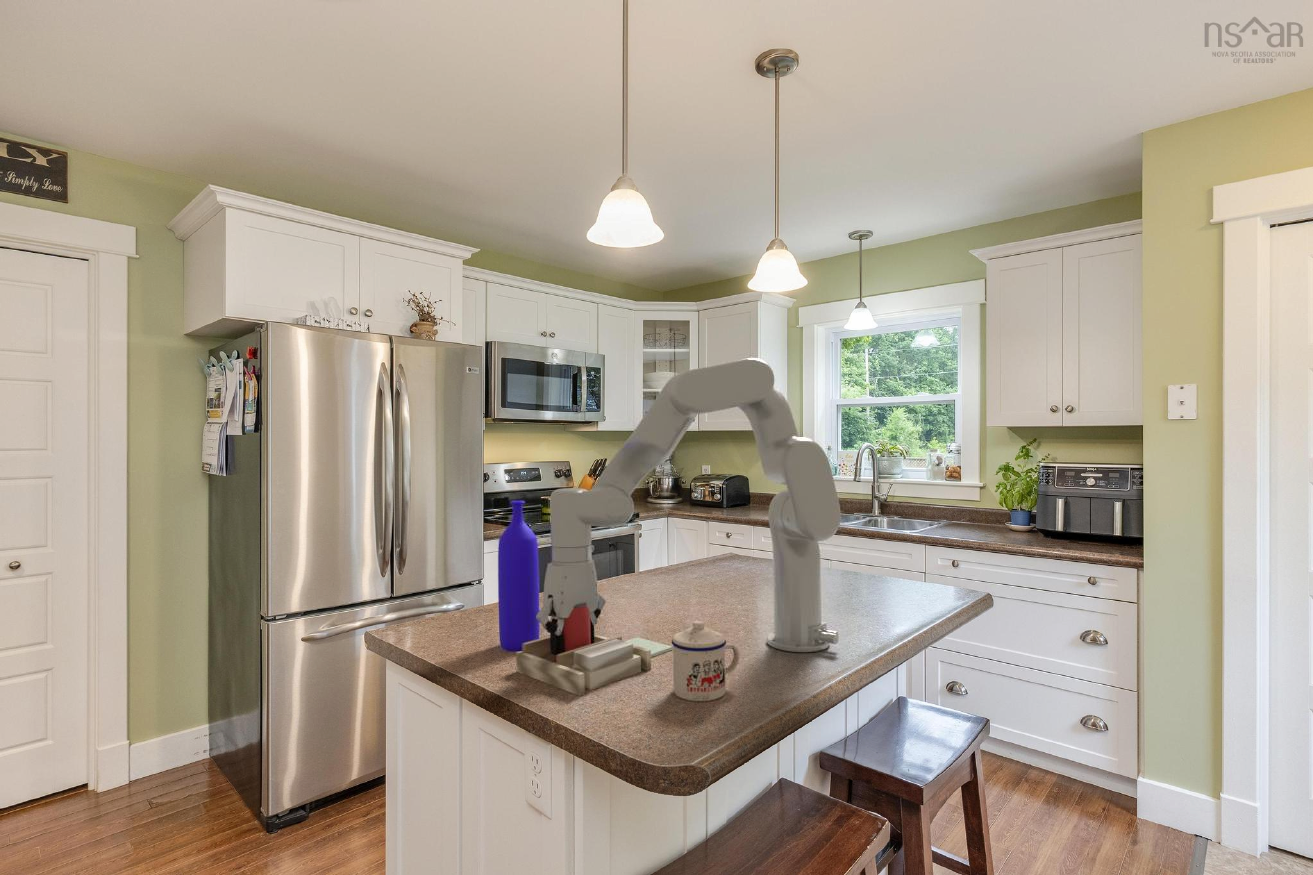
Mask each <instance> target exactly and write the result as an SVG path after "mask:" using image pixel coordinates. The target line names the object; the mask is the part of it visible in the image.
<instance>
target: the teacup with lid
mask: <svg viewBox="0 0 1313 875" xmlns="http://www.w3.org/2000/svg"><path fill="white" fill-rule="evenodd" d="M671 644H672V647H673V650H672V654H673V656H672V657H673V659H672V660H673V662H672V663H673V692H674V694H675V695H676V696H677V697H678V698H681V699H683V700H687V701H691V702H692V701H693V702H708V701H709V702H710V701H713V700H718V699H719V698H722V697H723V696H724V695H725V694H726V687H727V686H726V685H727V684H726V675H728V674H730V673H732V672H733V671H735V669H736V668H737V666H738V664H739V662H740V661H739V660H740V651H739V648H738V647H737V646H735V644H732V643H730V642H729V643H727V640H726V637H725V635H724V634H722V633H720V632H718V631H716V630H712V629H711V628H709V627H706V626H705V622H704V621H702V620H695V621H693V622H692V626H690V627H688V628H686V629H685V630H683V631H679V632H677V633H675V634H674V635H673V636H672V638H671ZM727 649H731V650H732V651H733V658H732V661H731V663H730V664H729V665H728V667H726V650H727Z"/></svg>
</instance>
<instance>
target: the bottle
mask: <svg viewBox="0 0 1313 875" xmlns="http://www.w3.org/2000/svg"><path fill="white" fill-rule="evenodd" d="M525 503H526V502H525V500H511V501H510V502H509V504H510V505H511V506H512V519H511V522H510V523H509V524H508V526H506V528H505V530H504V531H503V532H502V534H501V535H500V537H499V539H498V548H497V549H498V550H497V554H498V555H497V588H498V589H497V590H498V591H497V593H498V594H497V598H498V600H497V601H498V630H499V632H498V634H499V644H500V648H501V650H504V651H507V652H520V651H522V643H526V642H530V641H533V640H537V639H540V622H539V621H538V620H537V619H536V616H537V614H538V613H539V611H540V571H539V570H540V566H539V565H540V564H539V547H538V546H539V545H538V539H537V536H536V535H535V533H534V532H533V530H532V529H531V528H530V526H528V525H527V523H526V522H525V521H524V516H523V507H524V505H525Z"/></svg>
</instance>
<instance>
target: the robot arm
mask: <svg viewBox="0 0 1313 875" xmlns="http://www.w3.org/2000/svg"><path fill="white" fill-rule="evenodd" d="M733 408H738V409H740V410H741V411H742V412H743V413H744V414H745V416H746V417H747V419H748V421H749V424H750V426H751V429H752V431H753V436H754V440H755V444H756V447H757V451H758V456H759V460H760V464H761V469H762V470H763V473H764V476H766V478H767V479H768V480H770V481H771V482H772V483H776V484H780V485H784V486H785V485H786V489H784V490H781V491H779V492H778V493H776V494H775V495H774V496H773V498H772V500H771V501H770V504H769V506H768V525H769V530H770V535H771V536H770V537H771V542H772V543H771V544H772V560H773V562H772V566H773V568H772V569H773V570H772V572H773V574H772V575H773V612H774V613H773V617H774V618H773V620H774V623H773V624H774V626H773V629H774V630H773V631H772V632H770V633H768V634H767V635H766V642H767V644H768V646H771V647H772V648H774V649H776V650H781V651H786V652H792V653H793V652H794V653H812V652H819V651H823V650H825V649H827V648H829V647H830V645H831V644H832V645H837V644H838V642H839V632H838V631H835V630H829V629H828V628H827V622H825V621H822V580H821V579H822V578H821V577H822V574H821V572H822V571H821V568H822V567H821V565H822V564H821V551H820V545H819V542H824V541H826V540H828V539H831V537H834V535H835V534H836V533H837V532H838V529H839V527H840V524H841V519H842V518H841V516H842V515H841V514H842V513H841V506H840V500H839V496H838V493H837V488H836V484H835V480H834V476H833V473H832V472H833V471H832V467H831V464H830V462H829V458H828V456H827V454H826V452H825V451H824V449H823V448H822V446H821V445H820V444H819V443H818V442H816V441H815V440H813V439H811V438H808V437H800V435H799V433H798V429H797V426H796V423H795V420H794V417H793V414H792V410H791V407H790V405H789V403H788V401H787V399H786V397H785V396H784V395H783V393H782V392H781V391H780V390H779V388H778V387H777V386H776V385H775V374H774V370H772V368H771V366H770V365H769V364H768V363H767V362H766V361H764V360H762V359H760V358H755V357H747V358H743V359H739V360H735V361H729V362H725V363H721V364H716V365H711V366H706V367H699V368H693V369H689V370H685V371H683V372H681V373H677V374H676V375H674V376H672V377H671V378H670V379H669V380H668V381H667V383H666V384H665V385H664V386H663V388H662V389H661V391H660V392H659V393H658V395H657V396H656V398H655V399H654V401H653V402H652V404H651V405H650V407H649V409H647V412H646V413H645V414H644V416H643V418H642V419H641V420H640V421H639V423H638V425H637V426H636V427H635V429H634V430H633V432H632V433H631V434H630V436H628V438H627V439H626V440H625V442H624V443H623V444H622V446H621V448H620V449H618V451H617V452H616V453H615V455H614V456H613V457H612V459H611V460H610V461H609V463H608V464H607V465H606V467H605V468H604V470H603V471H602V472H601V473H600V475H599V477H598V479H597V480H596V481H595V483H594V485H593V486H592V487H591V489H590V490H587V489H585V488H579V487H572V488H571V487H569V488H567V487H566V488H558V489H555V490H553V491H552V492H551V494H550V498H549V499H550V501H549V502H550V505H549V506H550V555H551V556H550V560H551V562H550V563H549V562H548V563H547V566H546V568H545V576H544V583H543V594H542V595H543V596H542V597H543V600H542V601H543V602H542V603H543V604H542V607H541V608H540V609H539V613H538V614H537V616H536V619H537V620H538V621H539V624H541V625H542V627H543V628H544V629H545V631H546V632H547V633H548V634H549V636H550V649H551V654H553V655H558V654H561V653H564V635H563V634H561V632H562V629H563V626H564V623H565V619H566V618H568V617H569V616H570V614H571V612H572V610H573V609H574V608H573V607H574V606H577V605H582V604H585V603H587V604H586V605H587V607H588V609H589V611H590V634H591V644H593V643H594V634H595V626H596V625H597V624H598V618H599V617H600V615H601V613H602V610H603V608H604V607H605V605H606V599H604V598H603V597H602V595H600V593H599V588H598V586H599V585H598V578H597V571H596V566H595V562H594V559H592V553H593V552H594V551H595V546H594V544H592V527H603V528H618V527H621V526H624V525H625V524H627V523H628V522H629V521H630V520H631V518H632V516H633V515H634V512H635V503H634V501H633V498H632V494H633V492H634V491H635V489H636V488H637V486H638V485H639V484H640V483H641V482H642V480H643V479H644V478H645V477H646V476H647V475H649V473H650V472H651V471H653V470H654V469H656V468H657V467H659V466H660V465H662V464H663V463H664V462H666V461H667V460H668V458H670V456H671V455H672V454H673V452H675V449H676V448H677V446H678V445H679V443H680V441H681V440H682V439H683V437H684V435H685V434H686V432H687V431H688V430H689V427H690V426H691V425H692V423H693V422H694V421H695V418H697V416H698V415H703V414H710V413H714V412H720V411H724V410H729V409H733ZM549 617H550V619H549ZM556 620H558V622H557V625H556ZM555 625H556V626H555Z"/></svg>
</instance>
